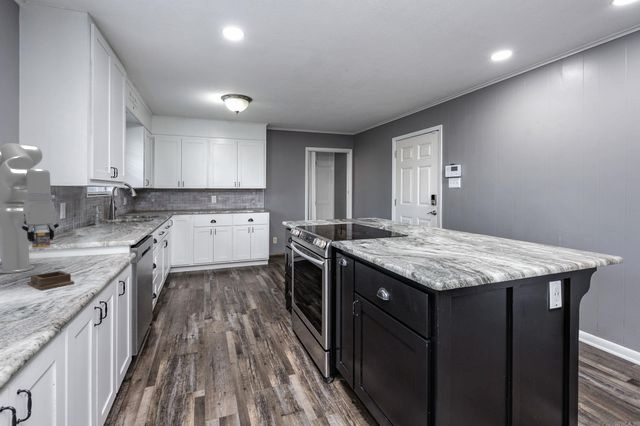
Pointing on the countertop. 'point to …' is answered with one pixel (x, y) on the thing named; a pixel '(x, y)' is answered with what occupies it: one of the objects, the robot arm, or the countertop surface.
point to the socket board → (50, 280)
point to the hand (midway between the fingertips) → (41, 239)
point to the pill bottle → (41, 237)
